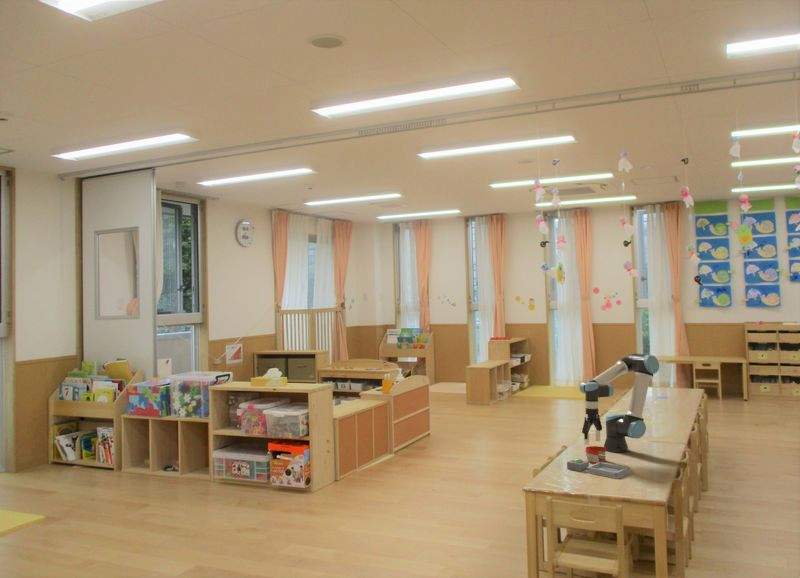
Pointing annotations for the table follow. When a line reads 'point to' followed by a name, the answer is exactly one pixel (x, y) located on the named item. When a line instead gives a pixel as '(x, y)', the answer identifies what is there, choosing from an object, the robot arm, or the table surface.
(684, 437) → the table surface
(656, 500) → the table surface
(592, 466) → the grey tray
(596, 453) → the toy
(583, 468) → the grey square holder
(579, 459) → the button
